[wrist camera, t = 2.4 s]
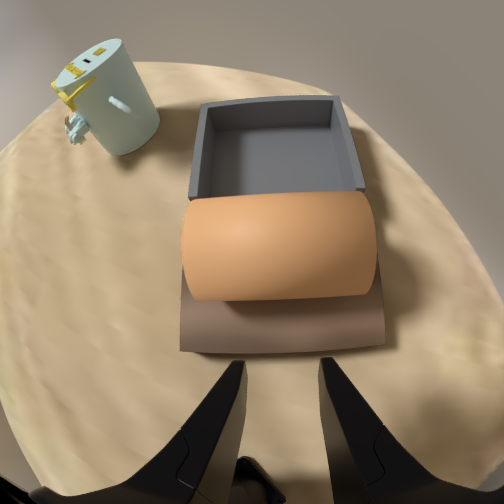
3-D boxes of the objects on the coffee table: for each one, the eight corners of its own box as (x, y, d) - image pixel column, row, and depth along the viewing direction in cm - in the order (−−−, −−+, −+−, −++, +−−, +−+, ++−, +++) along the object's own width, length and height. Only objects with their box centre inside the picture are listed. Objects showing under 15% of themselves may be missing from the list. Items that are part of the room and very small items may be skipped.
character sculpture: (73, 139, 34) (28, 86, 22) (127, 93, 36) (93, 33, 24) (123, 205, 28) (50, 131, 16) (197, 139, 30) (159, 46, 18)
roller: (343, 219, 22) (362, 170, 16) (353, 302, 20) (383, 280, 13) (213, 225, 23) (187, 179, 17) (210, 308, 21) (177, 289, 15)
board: (375, 344, 21) (385, 344, 19) (190, 350, 23) (179, 351, 20) (361, 215, 25) (368, 202, 22) (195, 223, 26) (187, 211, 24)
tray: (354, 212, 25) (365, 187, 21) (202, 219, 26) (187, 197, 22) (334, 123, 29) (338, 95, 25) (210, 131, 30) (201, 104, 26)
